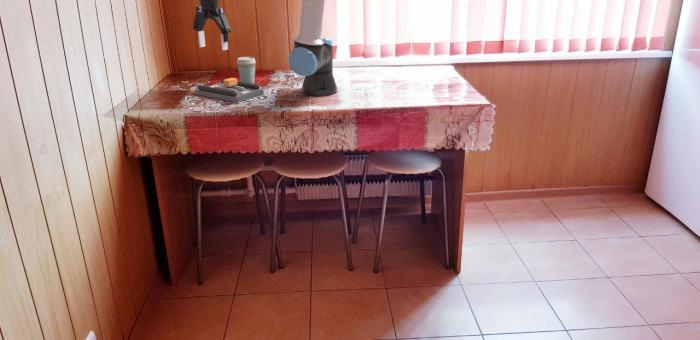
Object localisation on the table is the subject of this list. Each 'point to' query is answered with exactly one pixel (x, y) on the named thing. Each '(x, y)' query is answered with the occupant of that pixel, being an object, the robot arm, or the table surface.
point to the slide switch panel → (242, 92)
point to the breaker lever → (230, 83)
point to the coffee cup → (246, 69)
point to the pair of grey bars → (228, 92)
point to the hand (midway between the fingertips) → (213, 48)
